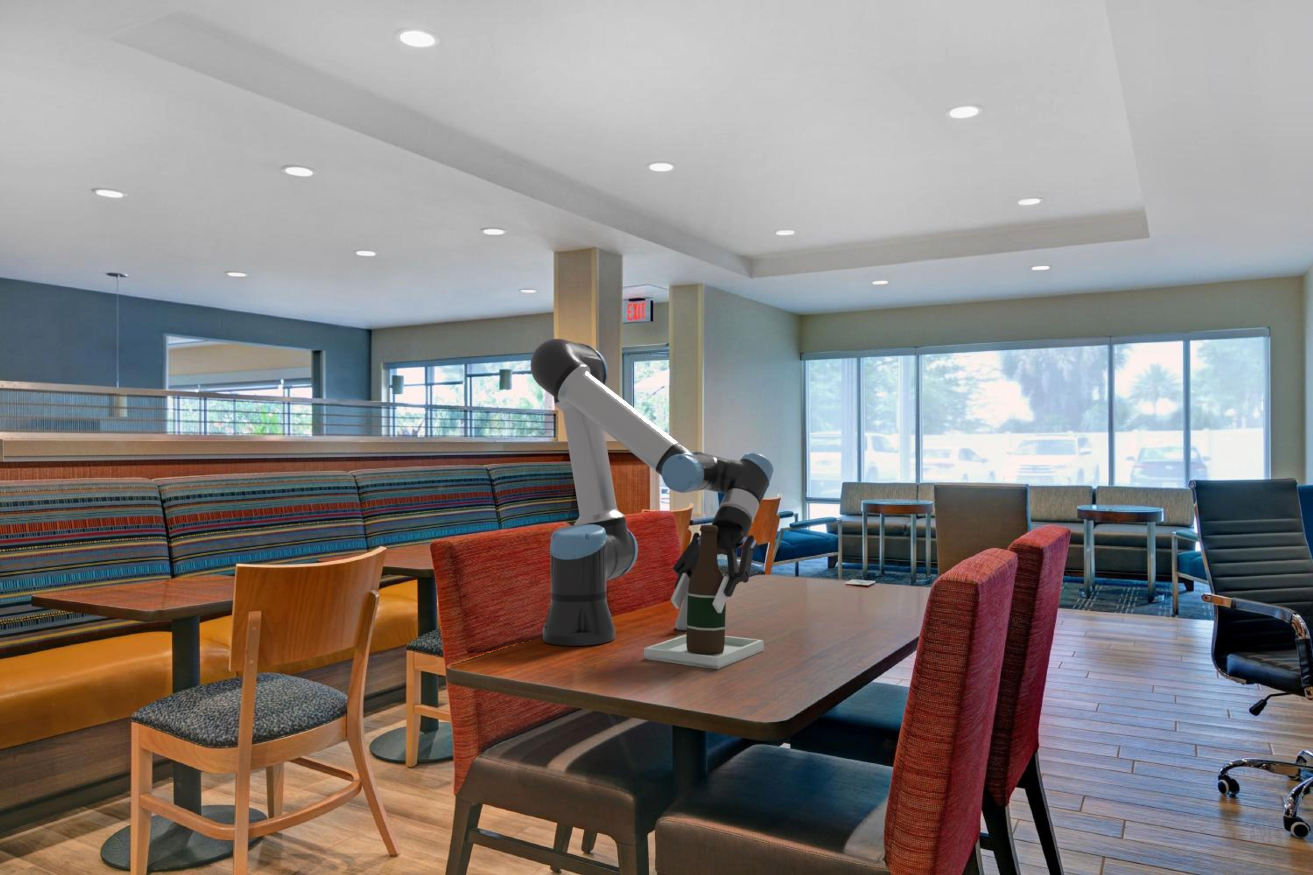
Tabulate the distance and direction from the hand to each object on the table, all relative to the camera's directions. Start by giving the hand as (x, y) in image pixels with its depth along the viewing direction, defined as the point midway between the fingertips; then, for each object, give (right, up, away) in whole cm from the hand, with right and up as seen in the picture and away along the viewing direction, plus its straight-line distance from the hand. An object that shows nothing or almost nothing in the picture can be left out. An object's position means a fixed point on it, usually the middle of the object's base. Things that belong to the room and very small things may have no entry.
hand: (695, 606), depth 169 cm
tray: (+2, -10, +2) cm, 10 cm away
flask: (0, -11, +29) cm, 31 cm away
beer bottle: (+2, -9, +3) cm, 10 cm away
